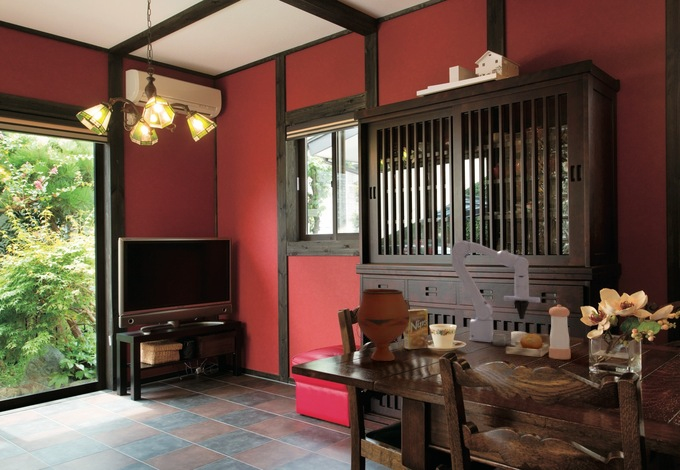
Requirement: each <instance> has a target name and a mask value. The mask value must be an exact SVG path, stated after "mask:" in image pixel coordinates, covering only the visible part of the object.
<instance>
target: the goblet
mask: <svg viewBox="0 0 680 470" xmlns="http://www.w3.org/2000/svg"><path fill="white" fill-rule="evenodd" d="M408 310H409V308H408V305H407V303H406V299H405V296H404V295H403V291H402V290H399V289H393V288H392V289H389V288H388V289H387V288H366V289H363V290H362V298H361V301H360V305H359V307H358V310H357V315H356V318H357V325H358V328H359V329H360V330H361V332H362V334H363V335H364V336H365V337H366V338H367V339H369V340H370V341H372V342H373V343H374V346H375V347H376V348H375V350H374V352H373V353H372V354H371V356H370V359H372V360H373V361H378V362H380V361H381V362H389V361H390V362H391V361H393V360H395V355H394V354H393V352H392V351H391V350H390V346H392V345H391V343H392V342H394V341H395V340H397V339H399V338H400V337H401V336H402V335H404V331H405V329H406V328H407V326H408V323H409V311H408Z"/></svg>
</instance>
